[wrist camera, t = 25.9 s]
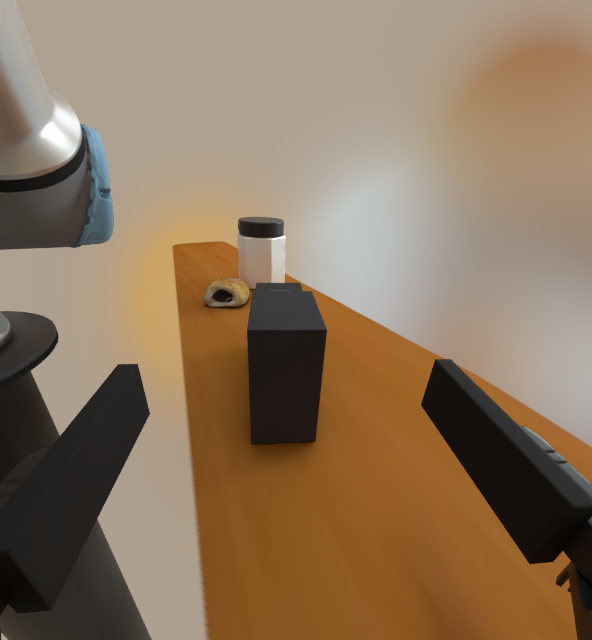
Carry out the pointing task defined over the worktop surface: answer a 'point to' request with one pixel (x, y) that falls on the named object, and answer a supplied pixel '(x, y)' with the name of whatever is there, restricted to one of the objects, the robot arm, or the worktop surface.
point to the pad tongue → (284, 366)
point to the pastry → (227, 292)
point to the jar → (261, 250)
